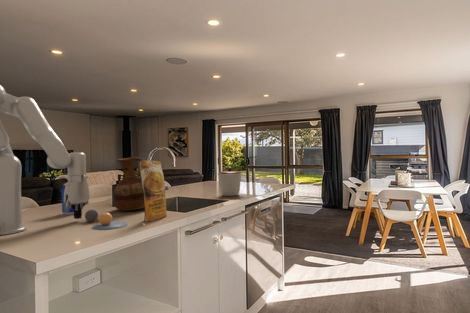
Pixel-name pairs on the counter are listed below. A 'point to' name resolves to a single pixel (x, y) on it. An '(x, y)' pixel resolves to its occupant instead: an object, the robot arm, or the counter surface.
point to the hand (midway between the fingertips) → (77, 218)
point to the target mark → (109, 226)
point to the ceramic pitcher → (129, 187)
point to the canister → (229, 182)
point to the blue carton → (65, 209)
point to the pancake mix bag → (153, 189)
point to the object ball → (105, 218)
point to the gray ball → (91, 215)
